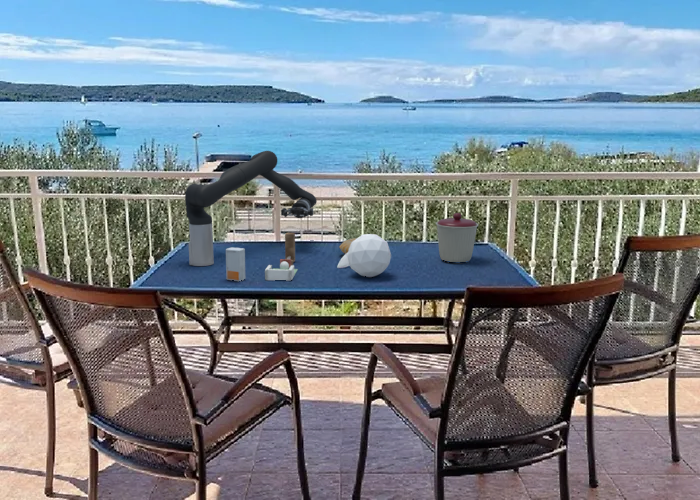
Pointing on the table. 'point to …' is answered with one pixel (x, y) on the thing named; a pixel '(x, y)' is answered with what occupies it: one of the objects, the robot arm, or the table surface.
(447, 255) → the canister
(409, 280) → the table surface
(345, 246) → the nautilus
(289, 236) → the brown thin block
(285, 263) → the ball
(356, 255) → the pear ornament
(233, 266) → the skincare box
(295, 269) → the pale green square plate
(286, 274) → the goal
